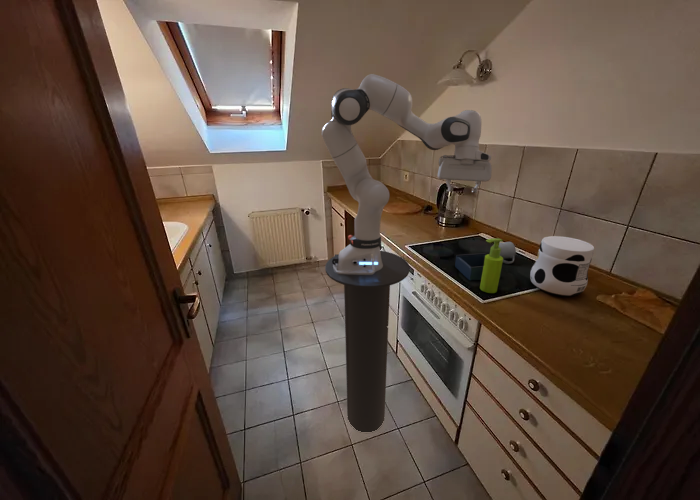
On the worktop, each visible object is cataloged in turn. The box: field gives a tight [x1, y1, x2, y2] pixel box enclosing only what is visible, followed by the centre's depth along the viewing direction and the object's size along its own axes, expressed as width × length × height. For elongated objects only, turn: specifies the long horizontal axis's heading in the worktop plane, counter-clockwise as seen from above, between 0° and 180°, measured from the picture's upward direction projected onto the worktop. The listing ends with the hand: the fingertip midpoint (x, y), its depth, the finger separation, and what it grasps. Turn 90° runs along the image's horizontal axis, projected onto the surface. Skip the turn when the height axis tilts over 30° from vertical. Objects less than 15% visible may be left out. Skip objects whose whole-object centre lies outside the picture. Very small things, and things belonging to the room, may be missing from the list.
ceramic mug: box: [491, 241, 517, 265], centre depth 134 cm, size 11×8×8 cm
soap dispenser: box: [479, 237, 504, 294], centre depth 107 cm, size 6×7×20 cm
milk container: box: [529, 235, 595, 297], centre depth 107 cm, size 17×17×18 cm
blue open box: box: [454, 252, 503, 281], centre depth 123 cm, size 13×13×6 cm
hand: (462, 192), depth 118 cm, fingers open, 8 cm apart
